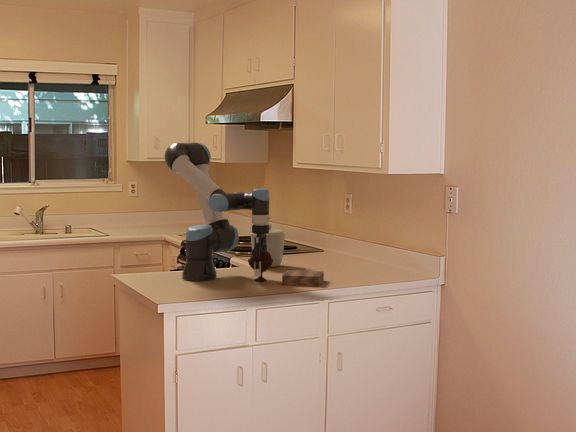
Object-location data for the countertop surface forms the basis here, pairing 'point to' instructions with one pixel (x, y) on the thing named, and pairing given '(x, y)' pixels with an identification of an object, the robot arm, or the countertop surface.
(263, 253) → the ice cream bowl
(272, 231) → the canister
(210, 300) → the countertop surface
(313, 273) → the walnut base
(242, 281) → the countertop surface
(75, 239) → the countertop surface
